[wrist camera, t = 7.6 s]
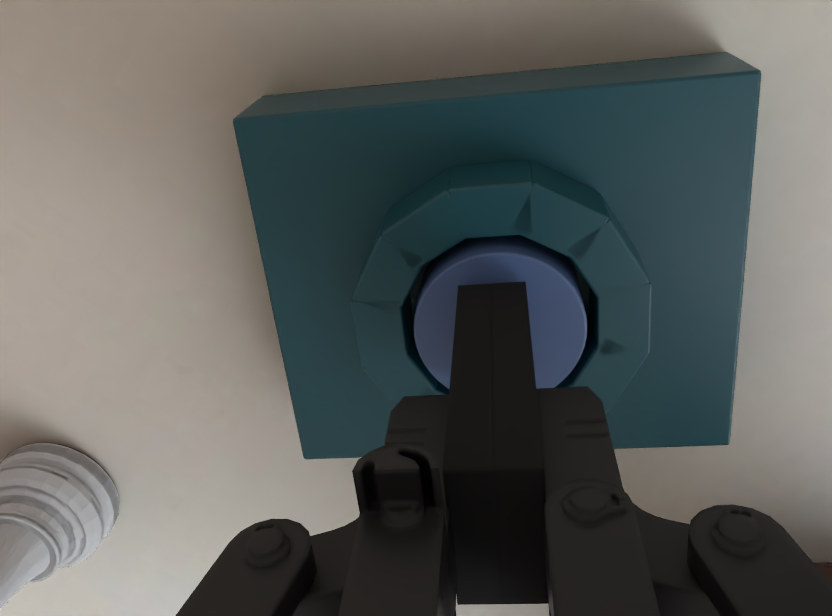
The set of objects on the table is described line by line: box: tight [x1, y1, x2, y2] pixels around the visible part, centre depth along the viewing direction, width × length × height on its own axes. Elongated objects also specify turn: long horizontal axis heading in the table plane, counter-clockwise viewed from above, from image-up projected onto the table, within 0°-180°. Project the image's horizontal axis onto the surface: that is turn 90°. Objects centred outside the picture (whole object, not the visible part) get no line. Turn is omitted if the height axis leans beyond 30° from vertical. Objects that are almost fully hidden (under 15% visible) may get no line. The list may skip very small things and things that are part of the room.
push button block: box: [233, 52, 761, 459], centre depth 20 cm, size 12×10×4 cm
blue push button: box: [414, 235, 587, 389], centre depth 19 cm, size 4×4×2 cm
